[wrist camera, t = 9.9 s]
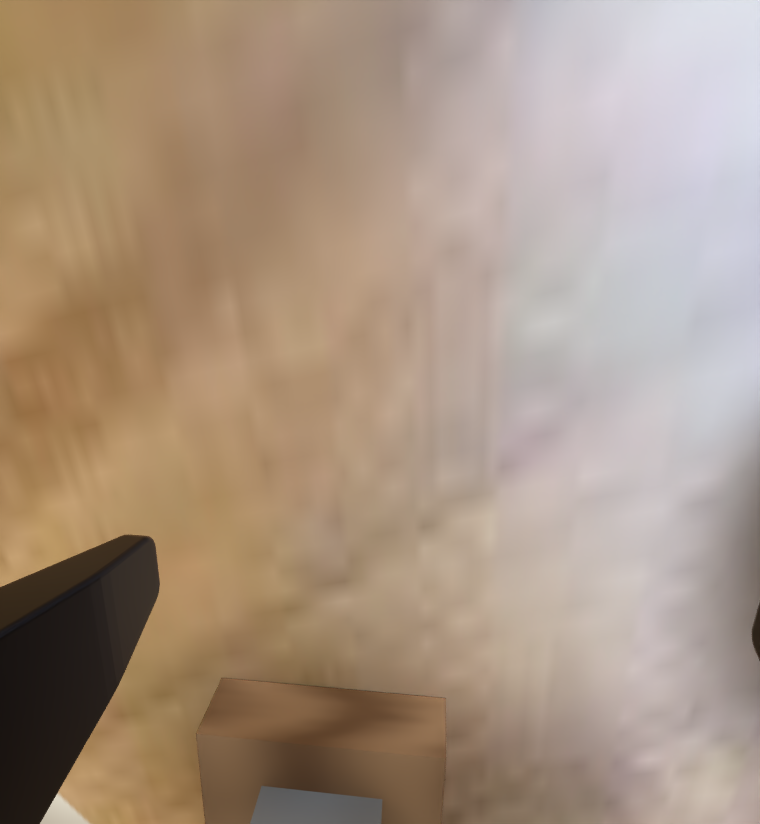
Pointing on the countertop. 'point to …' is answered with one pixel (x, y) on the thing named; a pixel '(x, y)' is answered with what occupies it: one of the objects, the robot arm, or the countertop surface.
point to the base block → (322, 748)
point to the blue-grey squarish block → (314, 808)
